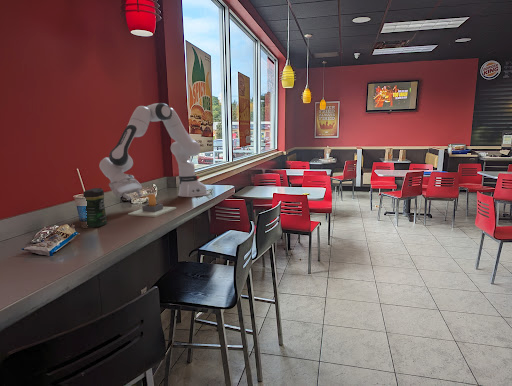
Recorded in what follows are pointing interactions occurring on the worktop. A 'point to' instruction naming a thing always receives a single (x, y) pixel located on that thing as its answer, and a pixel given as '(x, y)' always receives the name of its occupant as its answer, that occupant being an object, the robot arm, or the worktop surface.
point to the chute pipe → (152, 200)
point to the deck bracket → (152, 210)
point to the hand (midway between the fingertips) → (135, 197)
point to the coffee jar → (95, 207)
